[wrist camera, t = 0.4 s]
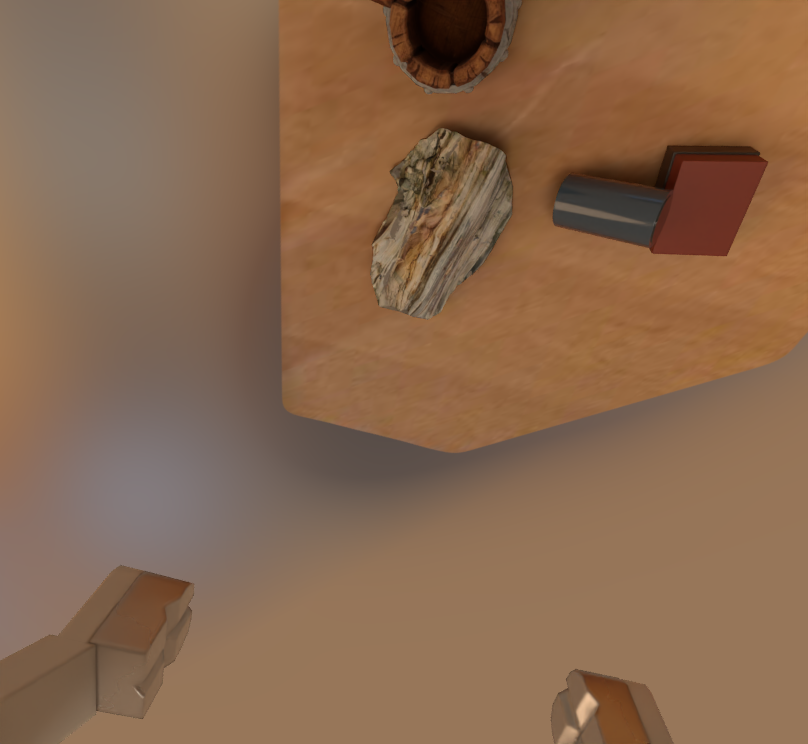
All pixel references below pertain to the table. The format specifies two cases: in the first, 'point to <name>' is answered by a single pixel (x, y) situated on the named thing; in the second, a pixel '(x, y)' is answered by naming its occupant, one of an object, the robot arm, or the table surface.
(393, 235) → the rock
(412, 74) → the mug
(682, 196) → the notebooks
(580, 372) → the table surface
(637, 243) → the cup
